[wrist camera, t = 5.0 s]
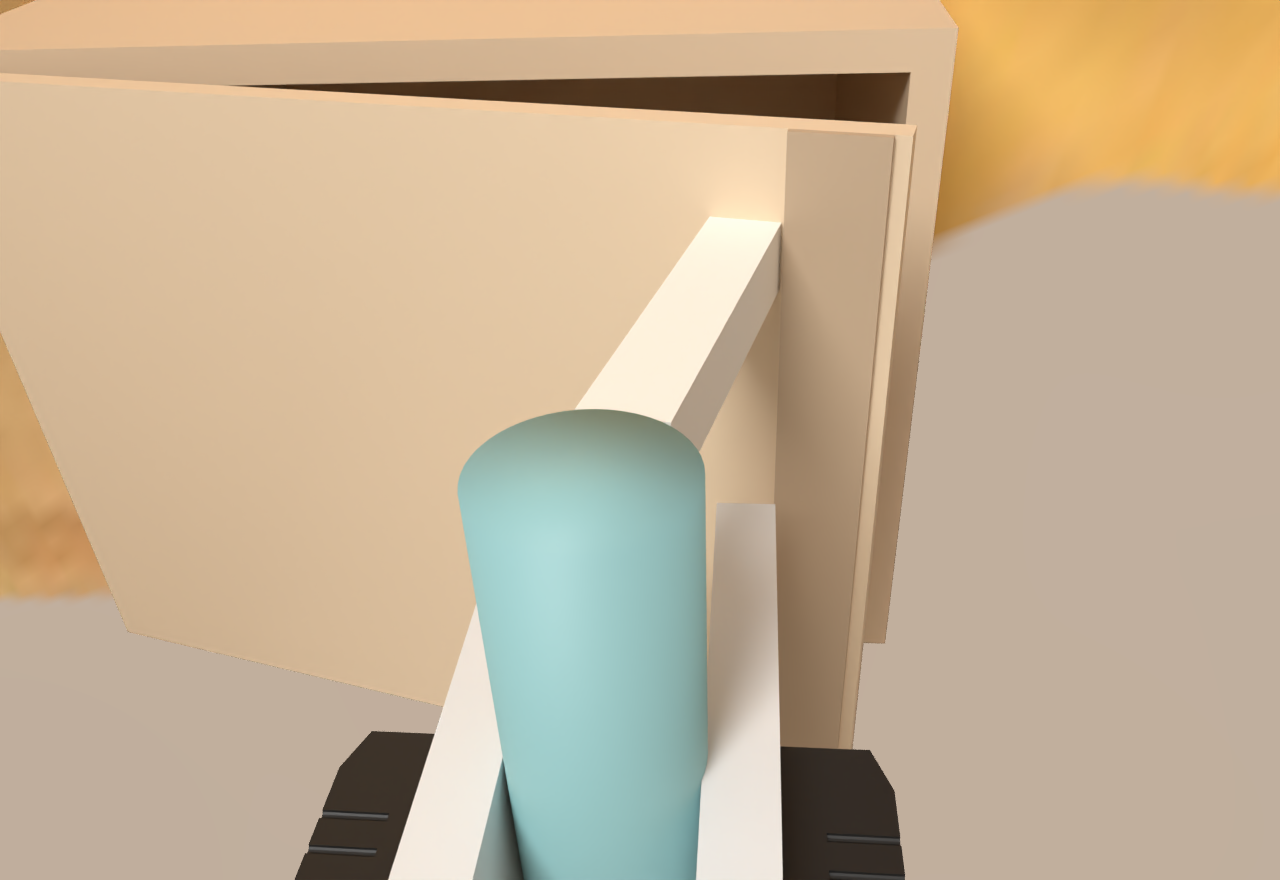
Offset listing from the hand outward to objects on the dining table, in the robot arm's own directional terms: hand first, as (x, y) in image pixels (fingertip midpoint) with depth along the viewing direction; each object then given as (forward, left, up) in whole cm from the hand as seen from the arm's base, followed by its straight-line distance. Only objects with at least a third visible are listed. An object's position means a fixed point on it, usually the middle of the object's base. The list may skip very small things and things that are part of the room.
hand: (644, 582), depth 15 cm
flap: (-4, 0, -3) cm, 5 cm away
